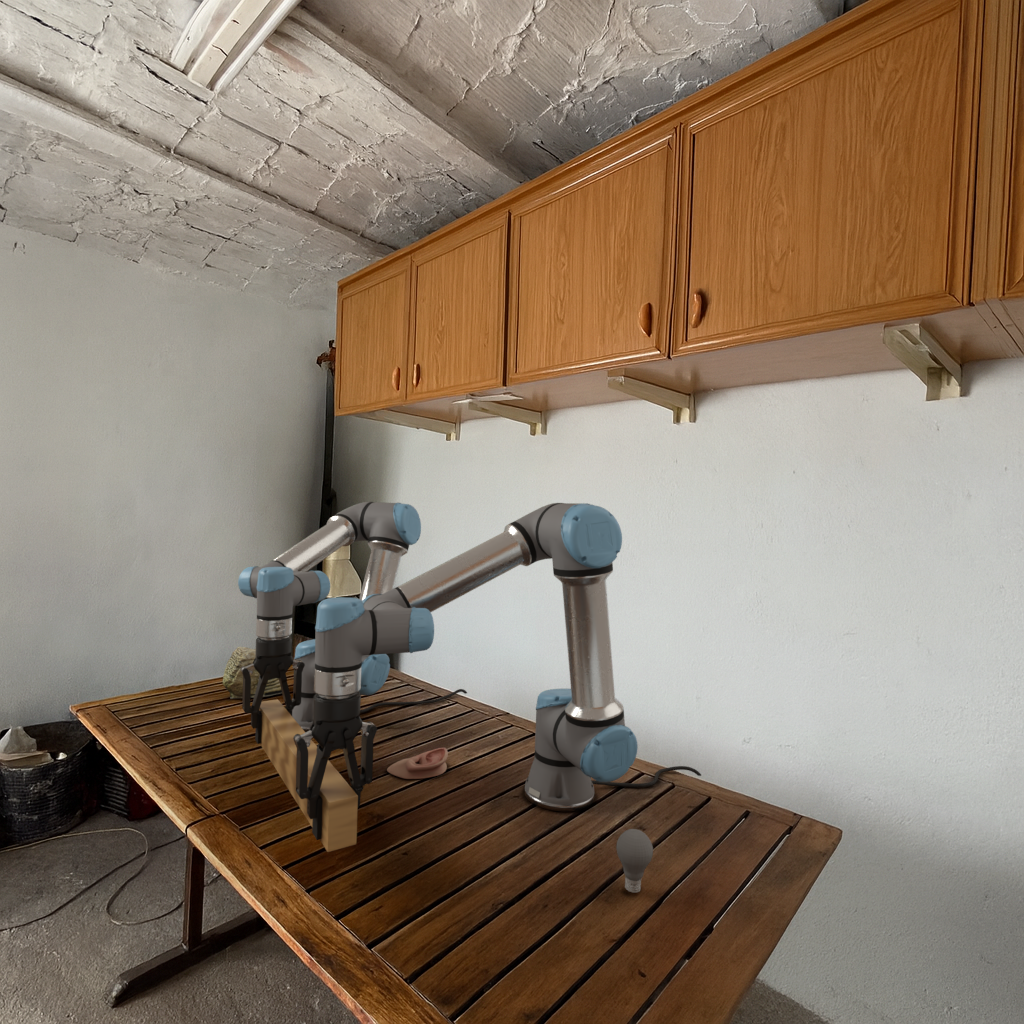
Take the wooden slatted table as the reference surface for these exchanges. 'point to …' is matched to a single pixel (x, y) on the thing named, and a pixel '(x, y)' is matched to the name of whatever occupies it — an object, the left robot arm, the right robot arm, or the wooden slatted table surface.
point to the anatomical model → (421, 765)
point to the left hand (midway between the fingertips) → (271, 739)
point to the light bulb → (634, 857)
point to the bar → (334, 789)
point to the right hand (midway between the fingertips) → (333, 830)
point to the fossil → (235, 677)
